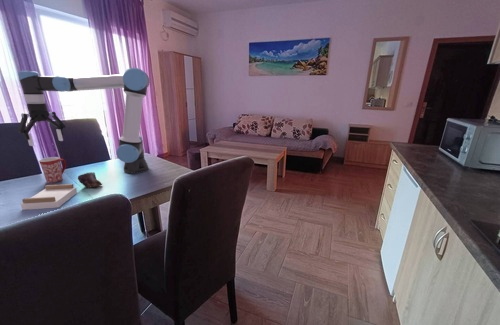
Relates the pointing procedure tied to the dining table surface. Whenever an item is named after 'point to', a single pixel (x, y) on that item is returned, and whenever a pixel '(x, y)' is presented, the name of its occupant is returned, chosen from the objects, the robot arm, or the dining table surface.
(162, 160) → the dining table surface
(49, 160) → the mug
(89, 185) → the rock
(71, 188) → the display stand
